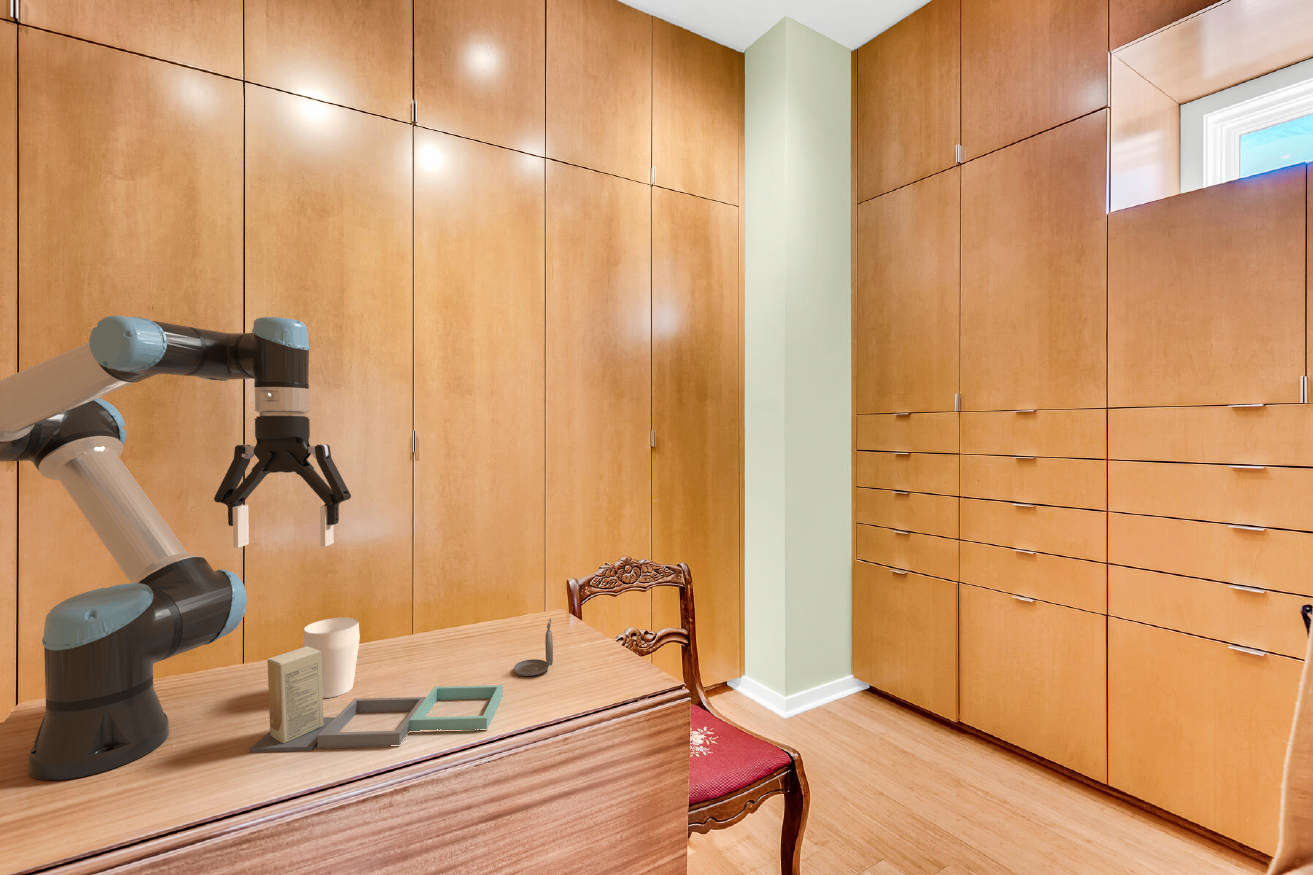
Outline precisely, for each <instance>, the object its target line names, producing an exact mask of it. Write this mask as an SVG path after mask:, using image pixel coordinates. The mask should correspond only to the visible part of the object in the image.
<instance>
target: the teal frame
mask: <svg viewBox="0 0 1313 875" xmlns="http://www.w3.org/2000/svg"><path fill="white" fill-rule="evenodd" d="M503 686H504V685H503V684H495V685H492V684H491V685H490V684H489V685H448V686H433V688H432V689H431V690H430V692H428V694H427V696H425V697H426V698H425V700H424V701H423V702H422V704H421V705H420V706H419V708H418V709H417V710H416V712H415V713H414V714H413V716H412V717H411V719H410V720H409V731H420V730H437V729H438V730H440V729H441V730H475V729H476V730H477V729H479V730H480V729H487V728H488V729H489V727H490V725H491V723H492V721H493V719H492V718H494V717H495V714H496V712H497V709H498V708H499V706H500V703H501V701H502V699H503V696H504V695H503V694H504V687H503ZM484 699H486V700H487V699H490V701H489V703H488V705H487V707H486V709H485V711H484V713H483V715H464V716H462V715H461V716H459V715H457V716H426V717H425V715H426V714H427V713H428V712H429V713H430V711H431V710H432V709H433V707H434V706H433V705H435V704H436V702H438V701H440V700H441V701H443V700H444V701H446V700H447V701H449V700H484ZM430 709H431V710H430ZM429 710H430V711H429ZM429 713H428V714H429ZM428 714H427V715H428ZM491 720H492V721H491ZM490 722H491V723H490ZM489 724H490V725H489ZM488 726H489V727H488ZM488 729H487V730H488Z"/></svg>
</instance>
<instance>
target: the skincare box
mask: <svg viewBox="0 0 1313 875" xmlns="http://www.w3.org/2000/svg"><path fill="white" fill-rule="evenodd" d="M267 679H268V681H267V683H268V684H267V685H268V687H267V688H268V706H269V714H268V715H269V732H270V736H272V737H273V738H275V739H276V740H278V741H280V742H281V743H286V742H288V741H290V740H293V739H295V738H297V737H299V736H302V735H304V734H306V733H309V732H311V731H313V730H315V729H317V728H320V727H322V726H323V725H324V720H323V718H324V698H323V693H322V666H321V651H319V650H317V649H314V648H312V647H309V646H306V647H301V648H296V649H293V650H291V651H287V652H284V653H281V654H278V655H275V656H272V657H269V658H267Z"/></svg>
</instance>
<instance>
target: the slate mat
mask: <svg viewBox="0 0 1313 875" xmlns="http://www.w3.org/2000/svg"><path fill="white" fill-rule="evenodd" d="M336 717H337V716H334V717H333V716H331V717H330V716H329V717H325V716H323V720H324V725H323V726H322V727H320V728H317V729H315V730H313V731H311V732H309V733H306V734H304V735H302V736H299V737H297V738H295V739H293V740H290V741H288V742H286V743H281V742H280V741H278V740H276V739H275V738H273V737H272V736H270V731H268V732H267V733H266V734H265V735H264V736H263V737H261V738H260V739H258V741H256V743H254V744H252V746H251V747H249V753H275V752H277V753H280V752H309V751H310V752H312V751H314V749H316V748H317V747H318V740H317V735H318V734H319V733H320V732H321V731H322V730H323V729H324V728H325V727H326V726H327V725H328V724H330V723H331V722H332V721H333V720H334V719H335V718H336Z"/></svg>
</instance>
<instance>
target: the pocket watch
mask: <svg viewBox="0 0 1313 875" xmlns="http://www.w3.org/2000/svg"><path fill="white" fill-rule="evenodd" d="M551 624H552V618H550V617H549V620H548V622H547V625H546V628H547V629H546V631H545V640H544V641H545V660H543V659H535V658H534V659H532V658H531V659H525V660H521V661H519V662H517V663H516V664H515V665H514V666H513V671H514V673H515V674H516V675H519V676H527V677H528V676H529V677H530V676H537V675H540V674H544V673H545V672H547V670H548V669H549V666H550V667H551V666H552V665H553V664H554V663H553V662H554V642H553V641H554V640H553V639H554V638H553V633H552V630H551Z"/></svg>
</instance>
